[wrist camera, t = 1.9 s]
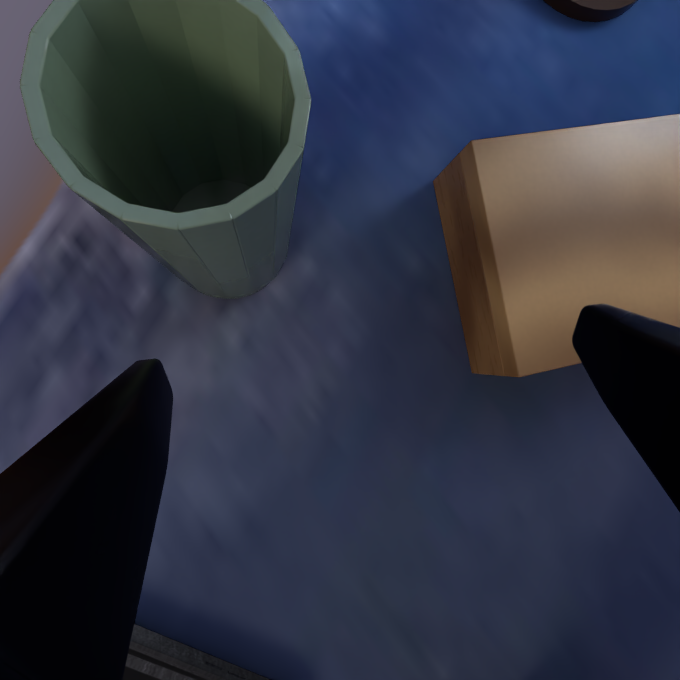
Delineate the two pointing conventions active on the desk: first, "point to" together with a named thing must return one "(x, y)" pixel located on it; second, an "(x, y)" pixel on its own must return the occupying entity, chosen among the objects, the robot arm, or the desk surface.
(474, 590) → the desk surface
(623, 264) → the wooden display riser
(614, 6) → the candlestick
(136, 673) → the phone
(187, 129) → the pen cup
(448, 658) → the desk surface
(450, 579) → the desk surface
